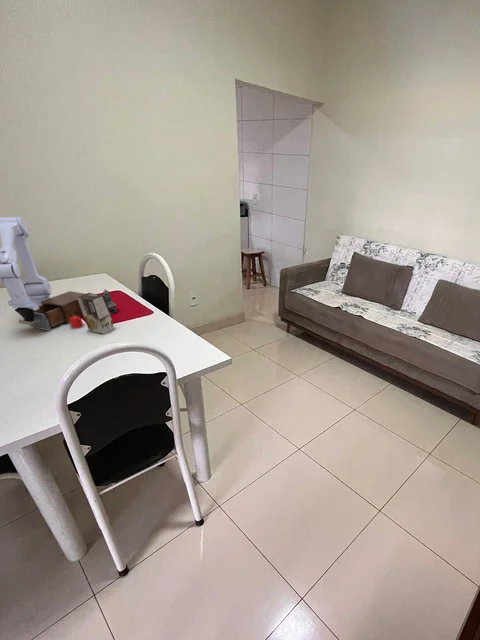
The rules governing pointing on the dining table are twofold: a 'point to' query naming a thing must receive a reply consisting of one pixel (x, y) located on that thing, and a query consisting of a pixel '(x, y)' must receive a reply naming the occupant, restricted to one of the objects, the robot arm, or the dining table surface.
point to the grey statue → (110, 302)
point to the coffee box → (96, 312)
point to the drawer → (46, 317)
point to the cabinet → (67, 304)
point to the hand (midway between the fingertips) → (31, 322)
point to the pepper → (75, 321)
